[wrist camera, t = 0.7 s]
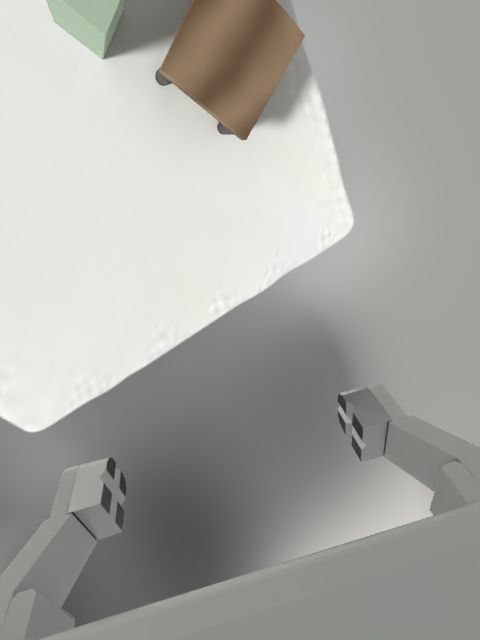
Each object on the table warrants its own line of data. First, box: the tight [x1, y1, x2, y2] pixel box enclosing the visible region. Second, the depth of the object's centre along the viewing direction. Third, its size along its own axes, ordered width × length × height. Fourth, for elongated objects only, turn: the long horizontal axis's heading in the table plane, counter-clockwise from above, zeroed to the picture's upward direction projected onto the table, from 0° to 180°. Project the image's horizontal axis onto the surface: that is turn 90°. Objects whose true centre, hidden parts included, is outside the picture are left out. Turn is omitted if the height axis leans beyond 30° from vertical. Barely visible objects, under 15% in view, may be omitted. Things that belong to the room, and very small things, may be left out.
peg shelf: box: [156, 0, 305, 140], centre depth 37 cm, size 11×12×8 cm
